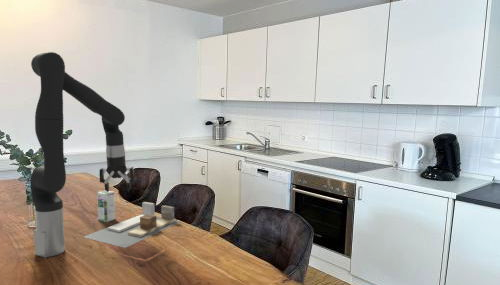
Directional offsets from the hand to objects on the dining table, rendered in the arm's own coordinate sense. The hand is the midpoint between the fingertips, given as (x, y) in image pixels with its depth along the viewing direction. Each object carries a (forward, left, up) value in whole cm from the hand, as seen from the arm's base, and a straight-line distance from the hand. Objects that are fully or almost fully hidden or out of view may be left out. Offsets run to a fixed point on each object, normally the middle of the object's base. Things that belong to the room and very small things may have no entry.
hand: (118, 191), depth 162 cm
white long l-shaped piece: (+10, +1, -18) cm, 21 cm away
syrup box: (+8, +16, -19) cm, 26 cm away
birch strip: (+10, -11, -18) cm, 23 cm away
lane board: (+5, -5, -19) cm, 20 cm away
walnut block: (+7, -11, -17) cm, 21 cm away
